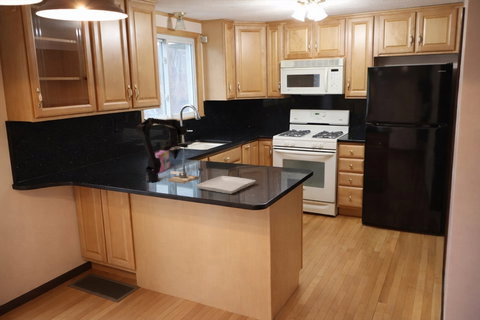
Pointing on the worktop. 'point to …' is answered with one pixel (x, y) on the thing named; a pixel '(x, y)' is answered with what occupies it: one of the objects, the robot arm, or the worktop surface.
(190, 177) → the board
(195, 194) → the worktop surface
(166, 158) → the gum box
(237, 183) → the square plate
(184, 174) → the wooden latch lever
